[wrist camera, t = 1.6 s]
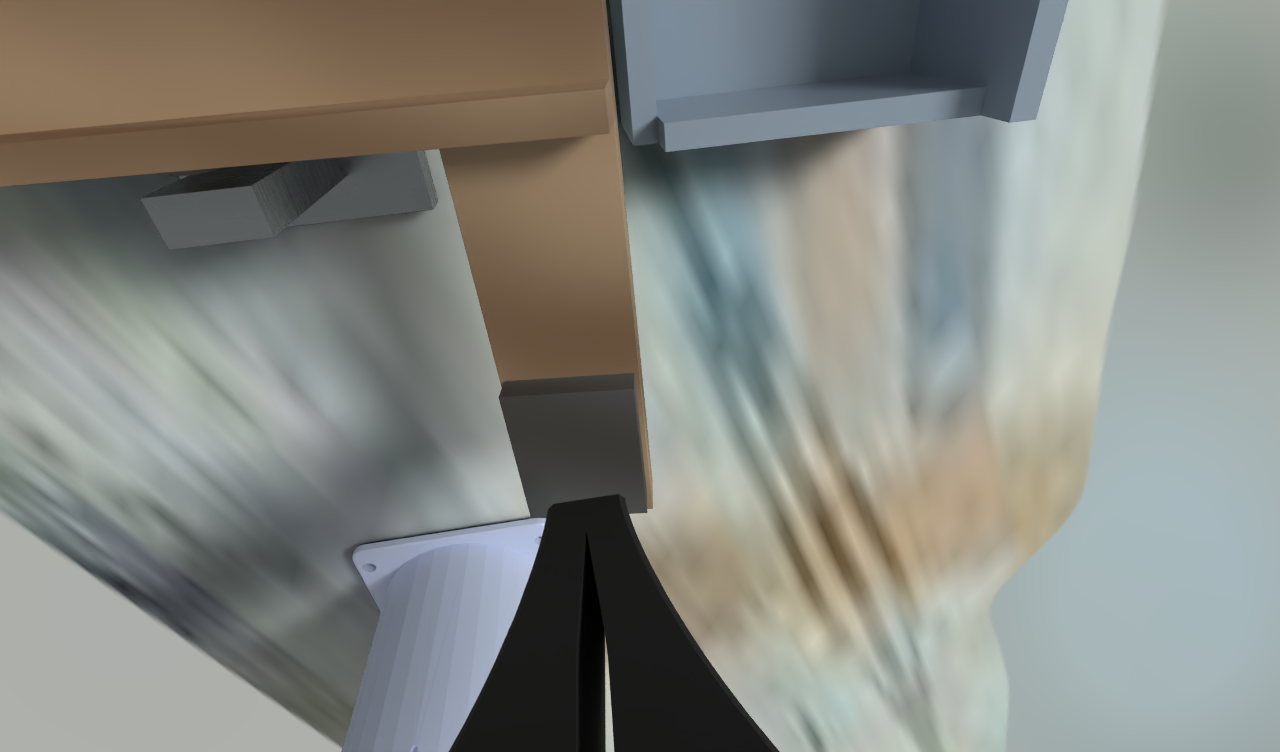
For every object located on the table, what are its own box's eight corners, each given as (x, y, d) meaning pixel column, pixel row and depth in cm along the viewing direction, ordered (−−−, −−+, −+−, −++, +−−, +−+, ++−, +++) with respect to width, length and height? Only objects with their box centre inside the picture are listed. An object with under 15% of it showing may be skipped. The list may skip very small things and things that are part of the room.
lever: (652, 467, 16) (653, 560, 13) (99, 497, 17) (-2, 590, 14) (559, -505, 7) (507, -798, 4) (-596, -332, 8) (-1203, -492, 5)
